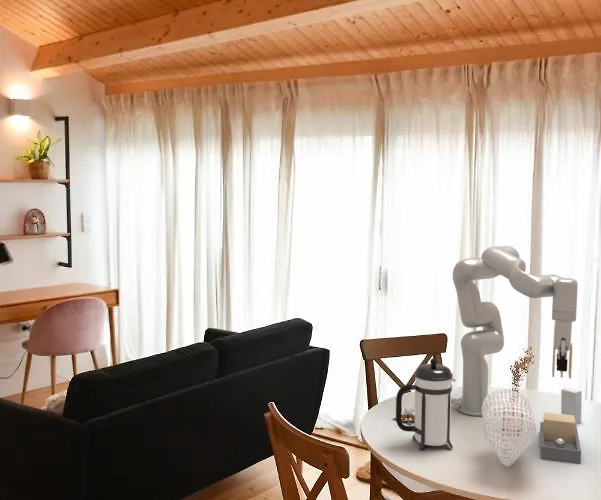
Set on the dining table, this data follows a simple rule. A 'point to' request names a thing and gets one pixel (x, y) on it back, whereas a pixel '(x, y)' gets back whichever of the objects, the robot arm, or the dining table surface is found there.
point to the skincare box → (571, 403)
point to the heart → (530, 425)
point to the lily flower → (407, 417)
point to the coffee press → (429, 405)
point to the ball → (559, 443)
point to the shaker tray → (560, 452)
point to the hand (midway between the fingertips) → (561, 367)
